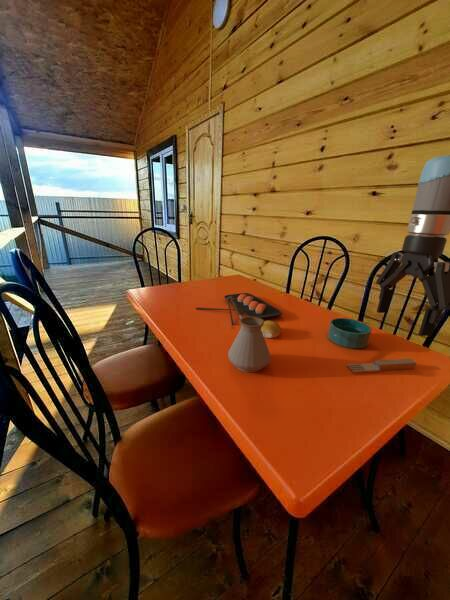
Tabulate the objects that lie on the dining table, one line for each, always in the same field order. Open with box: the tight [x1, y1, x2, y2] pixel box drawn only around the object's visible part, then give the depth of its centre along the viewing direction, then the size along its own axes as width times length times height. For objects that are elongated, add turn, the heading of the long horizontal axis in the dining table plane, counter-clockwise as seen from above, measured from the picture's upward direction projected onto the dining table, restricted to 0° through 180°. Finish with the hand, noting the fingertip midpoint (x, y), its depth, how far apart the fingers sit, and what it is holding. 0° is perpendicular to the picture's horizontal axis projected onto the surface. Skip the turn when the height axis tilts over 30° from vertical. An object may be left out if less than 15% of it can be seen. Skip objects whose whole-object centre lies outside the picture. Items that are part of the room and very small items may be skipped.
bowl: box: [327, 317, 372, 350], centre depth 84 cm, size 12×12×6 cm
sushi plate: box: [195, 292, 283, 326], centre depth 107 cm, size 29×30×4 cm
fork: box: [345, 358, 417, 375], centre depth 69 cm, size 19×3×2 cm, turn 98°
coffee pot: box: [226, 296, 271, 373], centre depth 71 cm, size 21×12×15 cm, turn 20°
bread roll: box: [261, 320, 282, 339], centre depth 87 cm, size 8×9×4 cm
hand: (401, 322), depth 63 cm, fingers open, 13 cm apart
